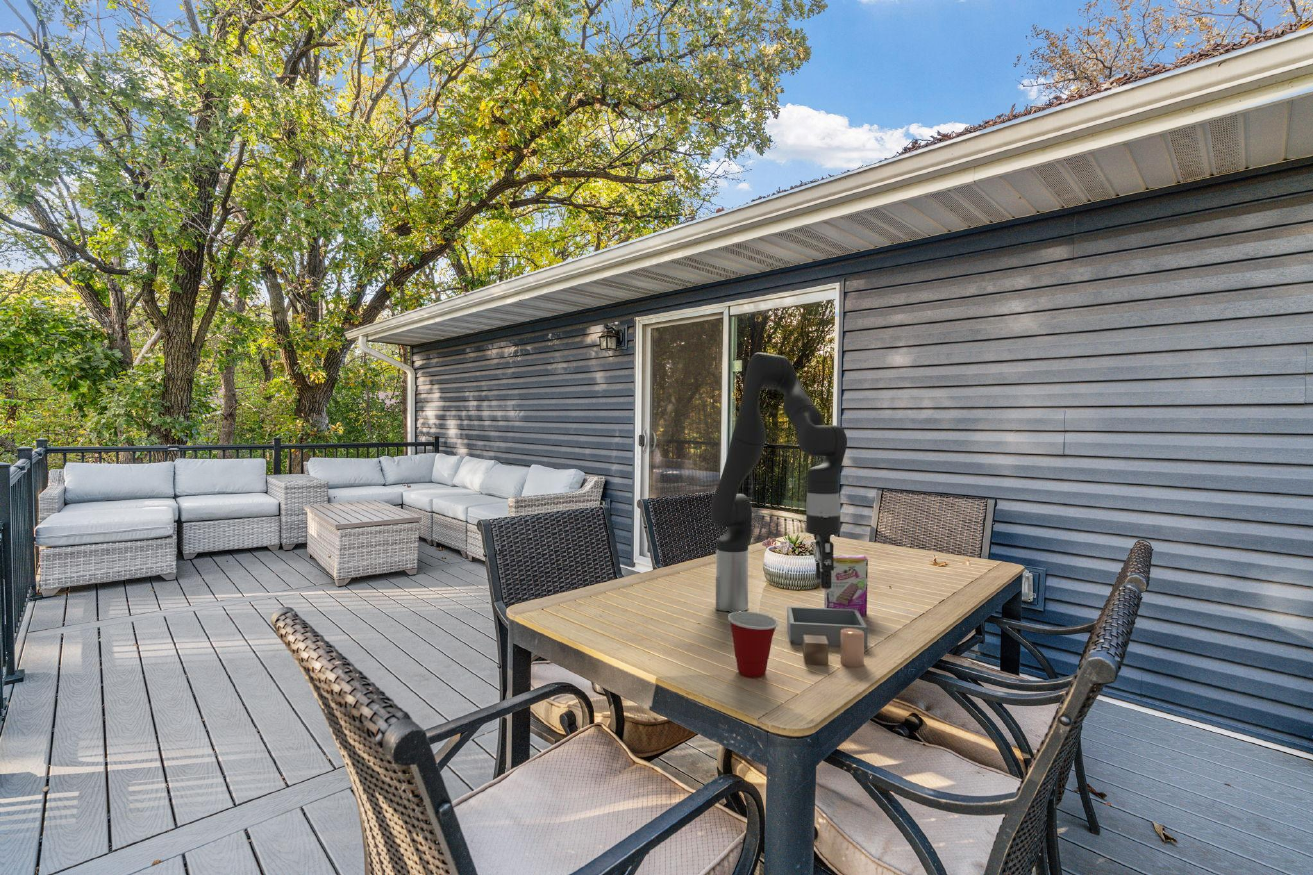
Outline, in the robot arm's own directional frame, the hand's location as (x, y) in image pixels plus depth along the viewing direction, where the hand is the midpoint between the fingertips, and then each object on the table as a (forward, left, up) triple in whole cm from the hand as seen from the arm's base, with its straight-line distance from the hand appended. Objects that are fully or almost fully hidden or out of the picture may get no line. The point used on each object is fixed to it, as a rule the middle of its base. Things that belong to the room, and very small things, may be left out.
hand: (823, 583), depth 138 cm
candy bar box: (+10, +35, -17) cm, 40 cm away
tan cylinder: (+6, -2, -17) cm, 18 cm away
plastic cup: (-16, -11, -17) cm, 26 cm away
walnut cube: (-2, -2, -17) cm, 17 cm away
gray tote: (+2, +15, -17) cm, 23 cm away
